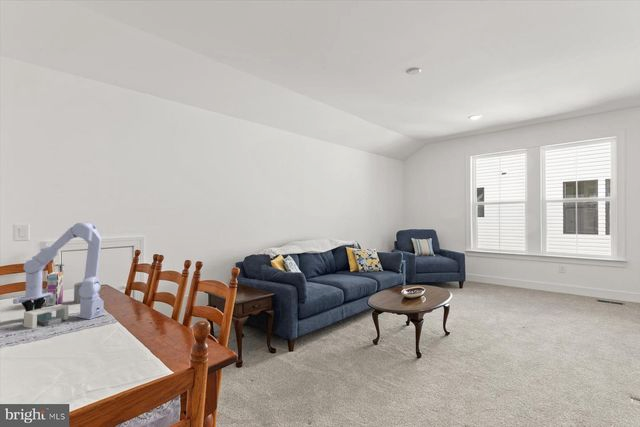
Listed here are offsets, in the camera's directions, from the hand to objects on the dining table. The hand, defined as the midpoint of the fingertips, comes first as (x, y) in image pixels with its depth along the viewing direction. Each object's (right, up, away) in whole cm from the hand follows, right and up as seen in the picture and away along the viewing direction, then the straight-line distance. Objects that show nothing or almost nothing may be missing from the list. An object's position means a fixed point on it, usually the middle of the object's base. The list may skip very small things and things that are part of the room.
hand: (33, 316), depth 151 cm
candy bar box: (-11, -2, +26) cm, 28 cm away
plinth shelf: (+9, -2, -4) cm, 11 cm away
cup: (+1, -2, +31) cm, 31 cm away
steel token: (+12, -2, -5) cm, 14 cm away
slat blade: (+3, -1, -1) cm, 4 cm away
